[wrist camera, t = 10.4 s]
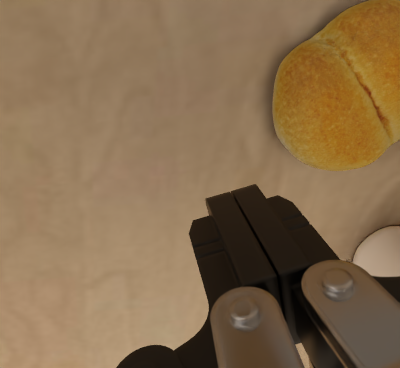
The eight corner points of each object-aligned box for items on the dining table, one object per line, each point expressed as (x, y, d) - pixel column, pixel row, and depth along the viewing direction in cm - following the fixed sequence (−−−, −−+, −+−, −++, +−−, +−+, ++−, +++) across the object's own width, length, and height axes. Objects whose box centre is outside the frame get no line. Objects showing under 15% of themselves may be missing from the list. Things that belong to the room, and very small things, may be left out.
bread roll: (239, 84, 19) (264, 102, 15) (384, -30, 18) (447, -39, 14) (308, 187, 23) (341, 221, 19) (431, 99, 21) (491, 117, 18)
